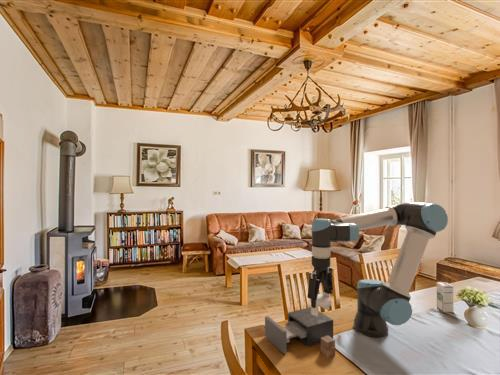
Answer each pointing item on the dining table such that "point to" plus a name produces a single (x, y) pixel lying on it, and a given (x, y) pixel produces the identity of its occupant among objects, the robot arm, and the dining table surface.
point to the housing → (312, 325)
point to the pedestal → (327, 346)
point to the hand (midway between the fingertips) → (320, 311)
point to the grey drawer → (283, 333)
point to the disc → (323, 300)
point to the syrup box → (445, 297)
